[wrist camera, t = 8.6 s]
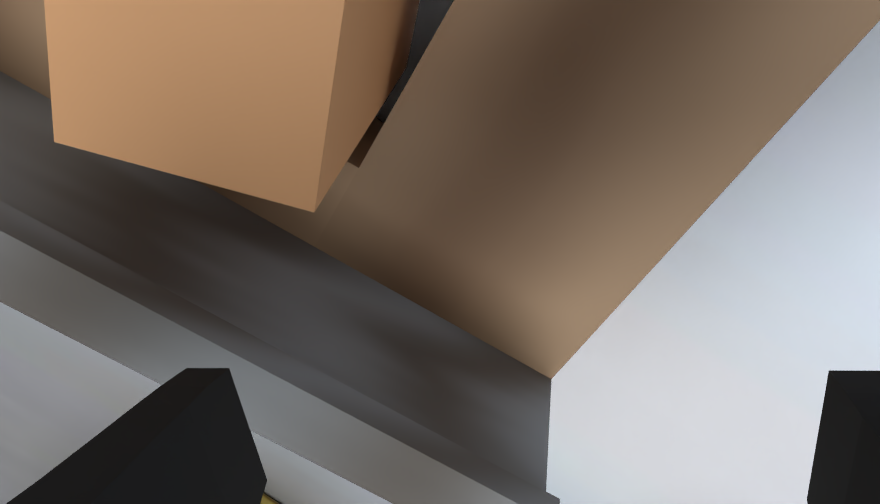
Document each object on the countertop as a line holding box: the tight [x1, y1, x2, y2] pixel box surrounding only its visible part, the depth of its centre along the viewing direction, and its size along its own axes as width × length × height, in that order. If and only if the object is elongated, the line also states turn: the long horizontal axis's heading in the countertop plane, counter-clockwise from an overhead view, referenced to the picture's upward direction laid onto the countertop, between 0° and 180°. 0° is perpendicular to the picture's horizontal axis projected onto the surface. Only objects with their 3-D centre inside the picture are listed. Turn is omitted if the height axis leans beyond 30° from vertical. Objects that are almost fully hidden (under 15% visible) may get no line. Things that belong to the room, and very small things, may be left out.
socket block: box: [0, 0, 880, 504], centre depth 13 cm, size 18×11×7 cm, turn 61°
